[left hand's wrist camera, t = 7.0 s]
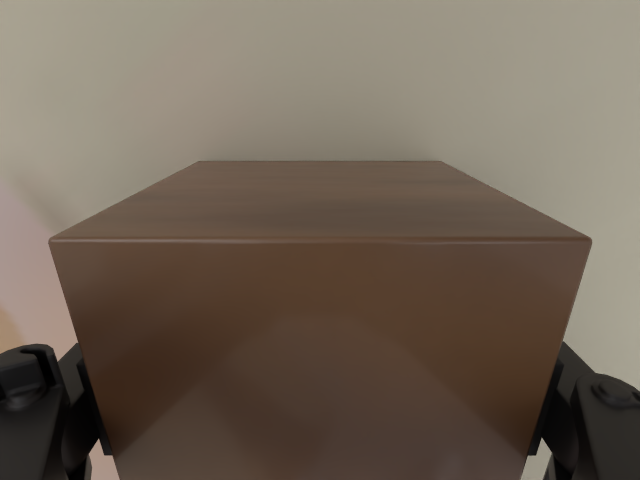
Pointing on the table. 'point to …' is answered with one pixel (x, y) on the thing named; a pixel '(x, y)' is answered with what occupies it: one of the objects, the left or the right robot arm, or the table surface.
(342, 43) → the table surface
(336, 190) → the thick board
